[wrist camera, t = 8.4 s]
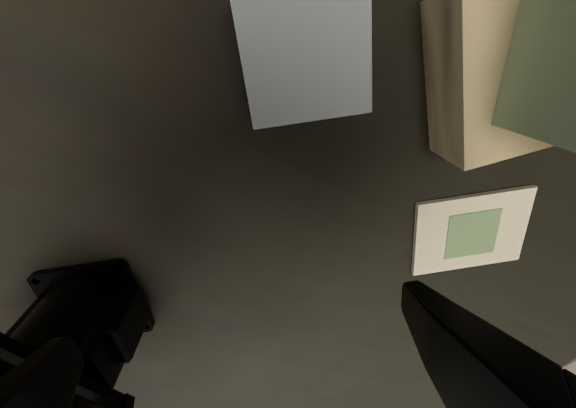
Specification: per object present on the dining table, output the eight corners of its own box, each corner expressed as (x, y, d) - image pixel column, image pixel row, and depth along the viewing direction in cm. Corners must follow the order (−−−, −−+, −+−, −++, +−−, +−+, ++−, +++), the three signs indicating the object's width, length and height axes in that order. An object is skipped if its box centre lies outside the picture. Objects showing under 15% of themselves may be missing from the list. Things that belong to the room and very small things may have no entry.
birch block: (427, 148, 19) (464, 171, 16) (417, 2, 16) (462, -11, 12) (556, 110, 19) (624, 126, 15) (576, -49, 15) (671, -77, 12)
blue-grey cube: (255, 108, 17) (253, 130, 13) (237, 3, 15) (227, -15, 11) (343, 95, 17) (372, 112, 13) (338, -12, 15) (371, -36, 11)
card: (411, 272, 24) (413, 276, 23) (415, 202, 21) (419, 205, 20) (514, 256, 24) (519, 260, 23) (532, 184, 21) (538, 187, 20)
